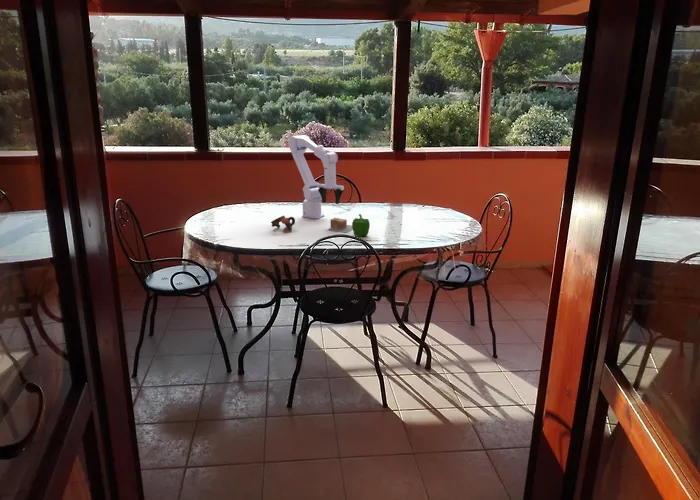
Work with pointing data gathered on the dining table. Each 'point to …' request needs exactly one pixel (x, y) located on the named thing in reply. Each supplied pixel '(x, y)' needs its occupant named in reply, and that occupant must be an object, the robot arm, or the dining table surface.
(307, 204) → the robot arm
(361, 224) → the bell pepper
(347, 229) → the slate mat
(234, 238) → the dining table surface
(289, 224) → the brown irregular piece
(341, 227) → the walnut block
